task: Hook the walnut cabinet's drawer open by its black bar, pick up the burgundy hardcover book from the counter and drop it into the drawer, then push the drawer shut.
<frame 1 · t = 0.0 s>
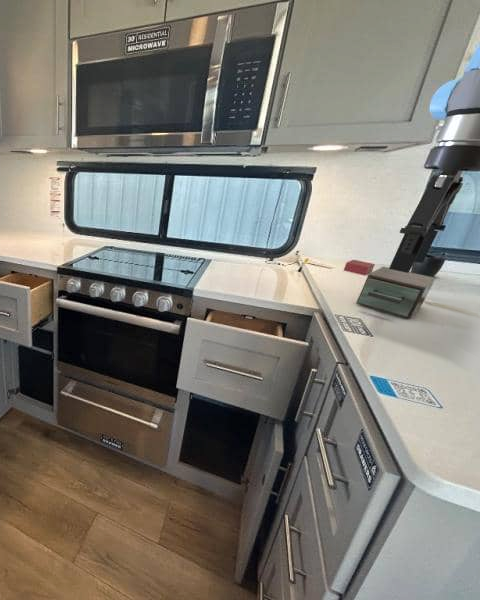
hand: (406, 265, 64), 21 cm above the countertop, tool pointing down, fingers open, 13 cm apart
book: (355, 275, 131), on the countertop
mug: (420, 279, 132), on the countertop
drawer: (391, 293, 97), point 5 cm above the countertop, slide at 0.5 cm
cabinet: (388, 305, 102), on the countertop
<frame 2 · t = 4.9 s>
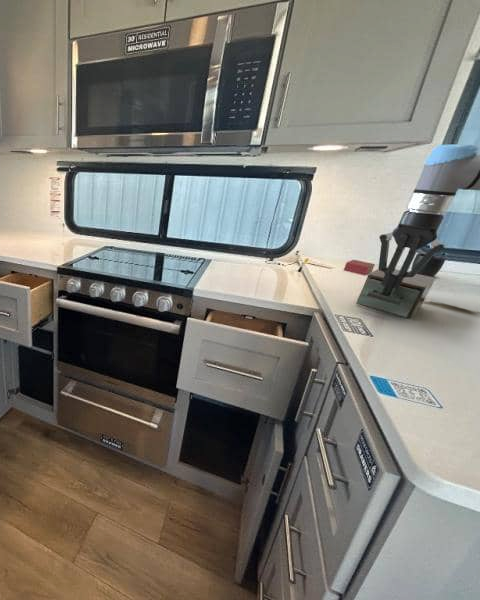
hand: (384, 297, 93), 5 cm above the countertop, tool pointing down, fingers closed
drawer: (390, 294, 97), point 5 cm above the countertop, slide at 1.3 cm, touching gripper
everything else where it was.
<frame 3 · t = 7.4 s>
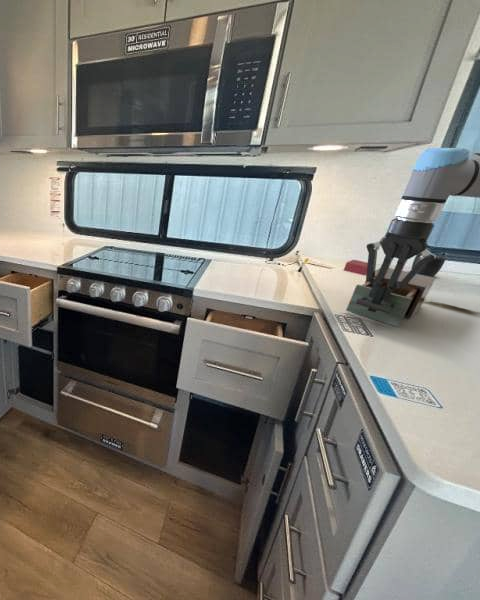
hand: (372, 310, 87), 4 cm above the countertop, tool pointing down, fingers closed
drawer: (381, 301, 91), point 5 cm above the countertop, slide at 12.0 cm, touching gripper
everything else where it was.
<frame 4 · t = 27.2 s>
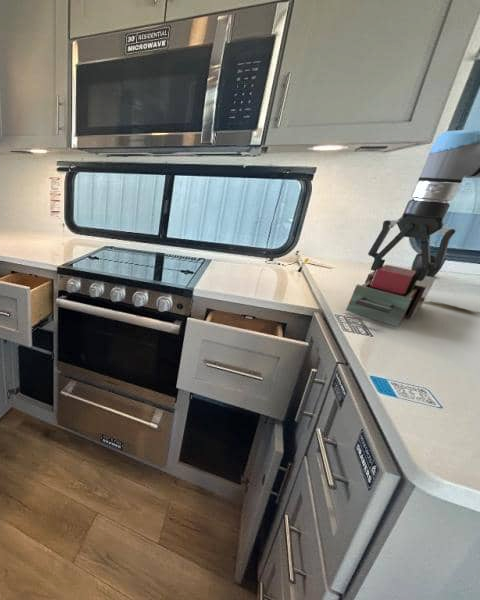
hand: (390, 286, 91), 9 cm above the countertop, tool pointing down, fingers closed on book, 7 cm apart
book: (390, 287, 91), point 9 cm above the countertop, touching gripper
drawer: (381, 301, 91), point 5 cm above the countertop, slide at 12.1 cm
everything else where it was.
when the fingers open (10 cm above the countertop, at t = 28.7 s): book drops 8 cm, resting on drawer.
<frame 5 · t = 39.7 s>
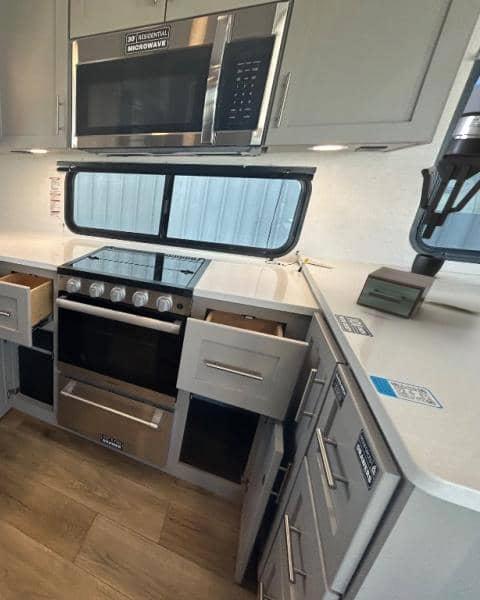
hand: (425, 238, 86), 22 cm above the countertop, tool pointing down, fingers closed
book: (392, 301, 100), point 2 cm above the countertop, touching drawer
drawer: (391, 293, 98), point 5 cm above the countertop, slide at 0.0 cm, touching book
everything else where it was.
at the end: book inside the target area in the cabinet (1.9 cm from its centre), point 2.0 cm above the cabinet's base; drawer slide at 0.0 cm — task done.
